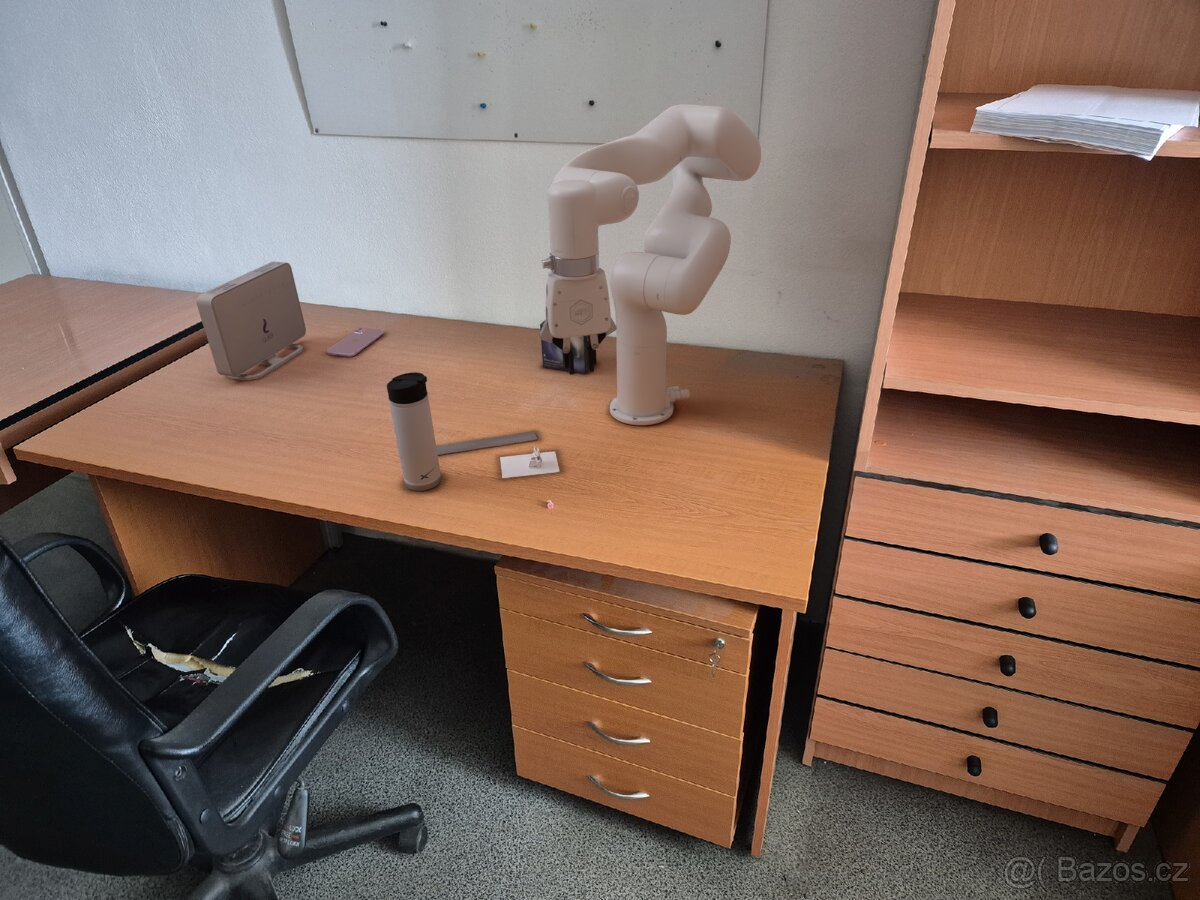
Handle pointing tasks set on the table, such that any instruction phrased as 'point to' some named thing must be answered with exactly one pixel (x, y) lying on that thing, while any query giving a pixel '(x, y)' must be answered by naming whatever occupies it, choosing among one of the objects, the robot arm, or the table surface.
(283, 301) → the network device
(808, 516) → the table surface
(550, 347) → the small box
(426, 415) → the travel mug
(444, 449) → the steel ruler
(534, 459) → the adhesive hook
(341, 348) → the mobile phone
